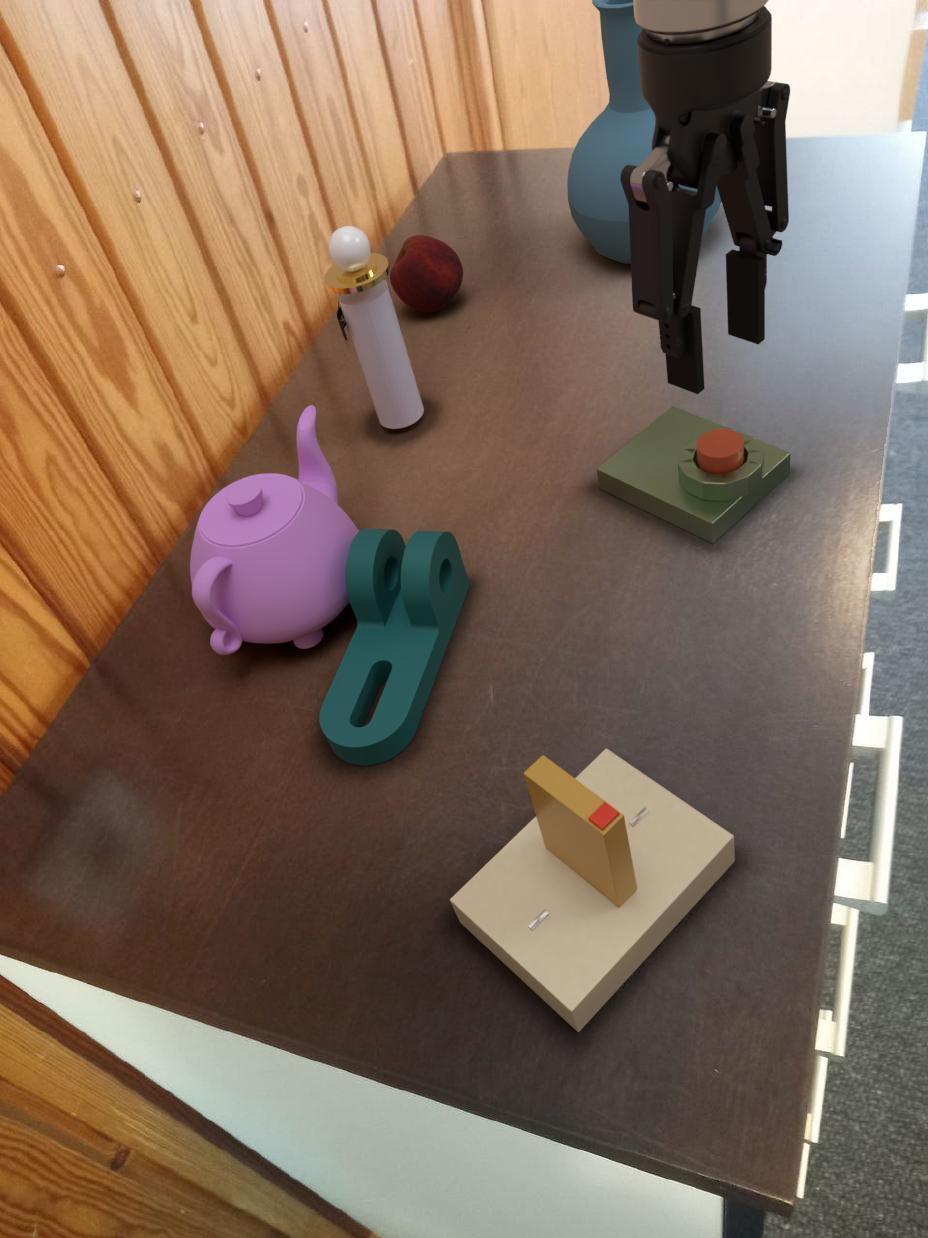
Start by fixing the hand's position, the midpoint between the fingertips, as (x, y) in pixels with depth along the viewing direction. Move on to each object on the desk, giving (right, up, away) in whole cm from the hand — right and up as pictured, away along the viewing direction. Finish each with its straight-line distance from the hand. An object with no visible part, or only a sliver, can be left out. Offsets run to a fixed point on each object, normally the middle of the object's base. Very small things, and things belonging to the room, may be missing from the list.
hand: (716, 360), depth 75 cm
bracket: (-23, -23, +4) cm, 33 cm away
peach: (-21, +16, +39) cm, 48 cm away
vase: (+2, +23, +39) cm, 45 cm away
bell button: (+2, -6, +7) cm, 9 cm away
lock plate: (-10, -36, -12) cm, 39 cm away
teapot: (-32, -17, +12) cm, 38 cm away
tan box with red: (-11, -33, -14) cm, 38 cm away
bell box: (+1, -7, +11) cm, 13 cm away
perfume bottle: (-24, 0, +26) cm, 36 cm away
